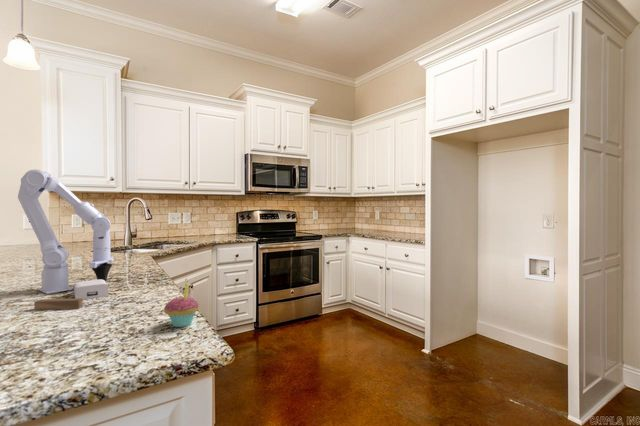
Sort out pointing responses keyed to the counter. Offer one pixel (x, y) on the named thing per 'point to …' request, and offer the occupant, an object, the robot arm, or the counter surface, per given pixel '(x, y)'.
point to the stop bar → (58, 304)
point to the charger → (91, 289)
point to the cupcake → (181, 310)
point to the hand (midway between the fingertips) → (102, 283)
